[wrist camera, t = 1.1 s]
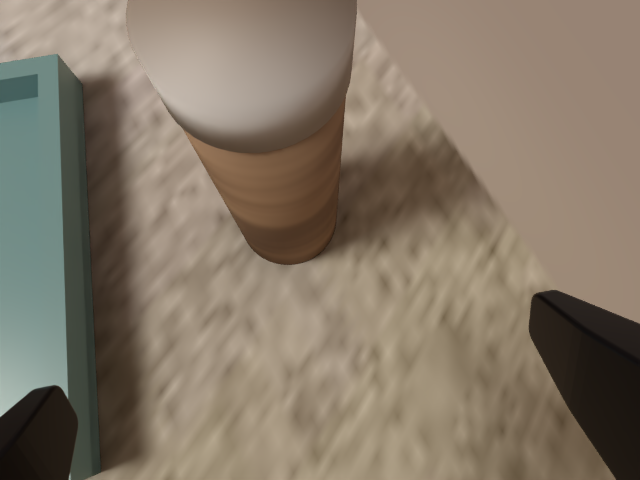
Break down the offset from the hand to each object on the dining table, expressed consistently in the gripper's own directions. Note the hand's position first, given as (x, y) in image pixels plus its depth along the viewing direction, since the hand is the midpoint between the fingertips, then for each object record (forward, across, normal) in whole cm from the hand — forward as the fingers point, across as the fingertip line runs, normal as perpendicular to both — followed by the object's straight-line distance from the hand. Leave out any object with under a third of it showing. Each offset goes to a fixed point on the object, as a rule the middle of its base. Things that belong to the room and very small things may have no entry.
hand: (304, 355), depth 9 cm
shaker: (+15, 0, +4) cm, 15 cm away
